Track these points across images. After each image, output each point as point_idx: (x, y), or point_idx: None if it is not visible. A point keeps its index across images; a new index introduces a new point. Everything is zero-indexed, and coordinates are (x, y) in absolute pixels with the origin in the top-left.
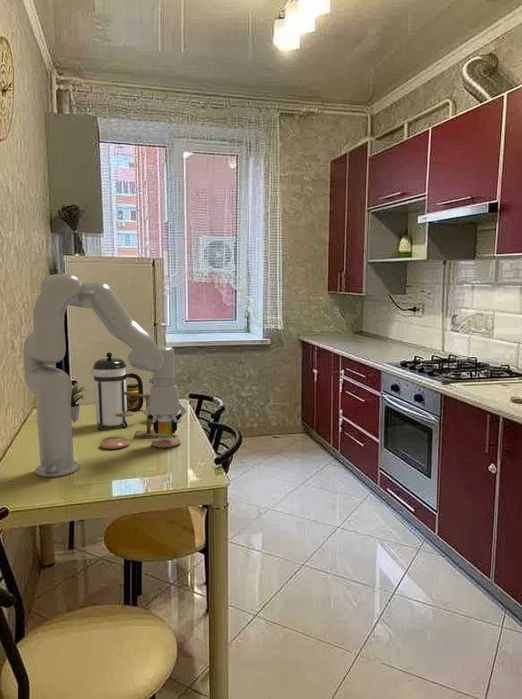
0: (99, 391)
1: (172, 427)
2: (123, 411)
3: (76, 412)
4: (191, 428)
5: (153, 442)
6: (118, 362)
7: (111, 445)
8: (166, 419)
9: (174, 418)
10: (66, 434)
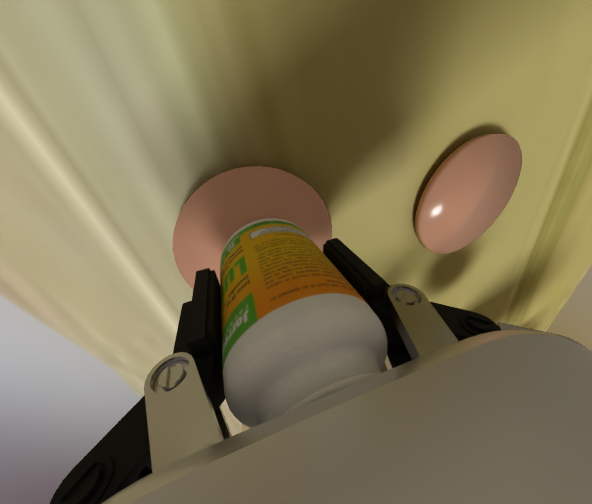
0: None
1: (212, 297)
2: None
3: None
4: (229, 416)
5: (322, 221)
6: None
7: (491, 155)
8: (281, 335)
9: (178, 400)
10: None
